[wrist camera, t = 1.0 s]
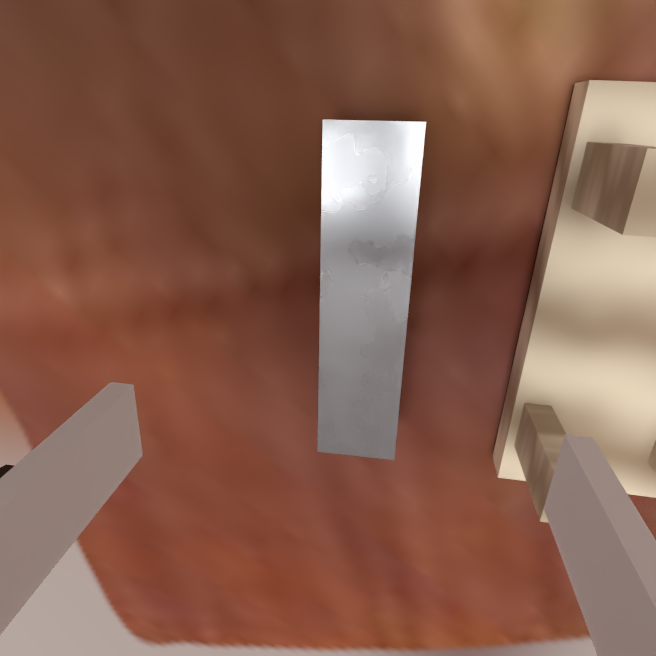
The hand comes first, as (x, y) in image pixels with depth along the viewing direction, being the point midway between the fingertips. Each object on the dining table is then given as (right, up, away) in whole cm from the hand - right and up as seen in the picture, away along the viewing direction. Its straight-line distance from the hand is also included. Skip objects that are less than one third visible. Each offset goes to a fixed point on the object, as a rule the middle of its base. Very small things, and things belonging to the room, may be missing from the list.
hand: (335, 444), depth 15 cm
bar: (+2, +6, +14) cm, 15 cm away
